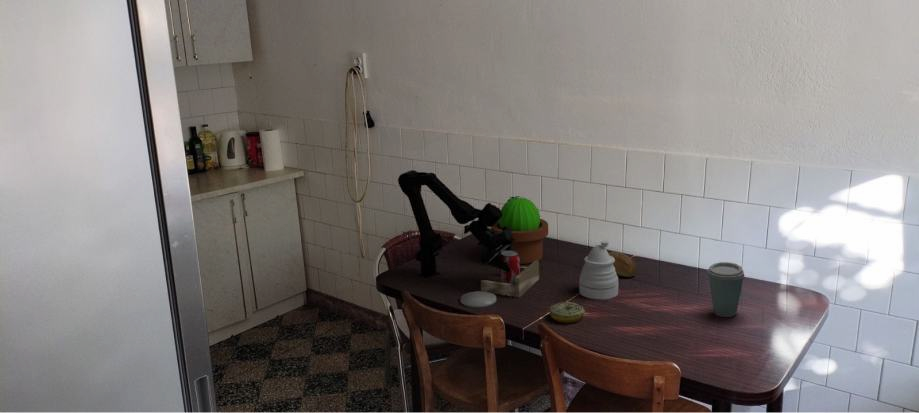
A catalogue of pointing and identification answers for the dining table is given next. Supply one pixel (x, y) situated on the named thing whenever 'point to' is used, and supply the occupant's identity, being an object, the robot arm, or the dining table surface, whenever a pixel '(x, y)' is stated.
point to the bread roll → (623, 264)
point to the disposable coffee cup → (725, 287)
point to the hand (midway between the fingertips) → (513, 268)
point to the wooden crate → (522, 282)
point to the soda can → (510, 267)
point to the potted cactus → (523, 228)
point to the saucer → (478, 299)
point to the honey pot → (599, 274)
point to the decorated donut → (566, 312)
